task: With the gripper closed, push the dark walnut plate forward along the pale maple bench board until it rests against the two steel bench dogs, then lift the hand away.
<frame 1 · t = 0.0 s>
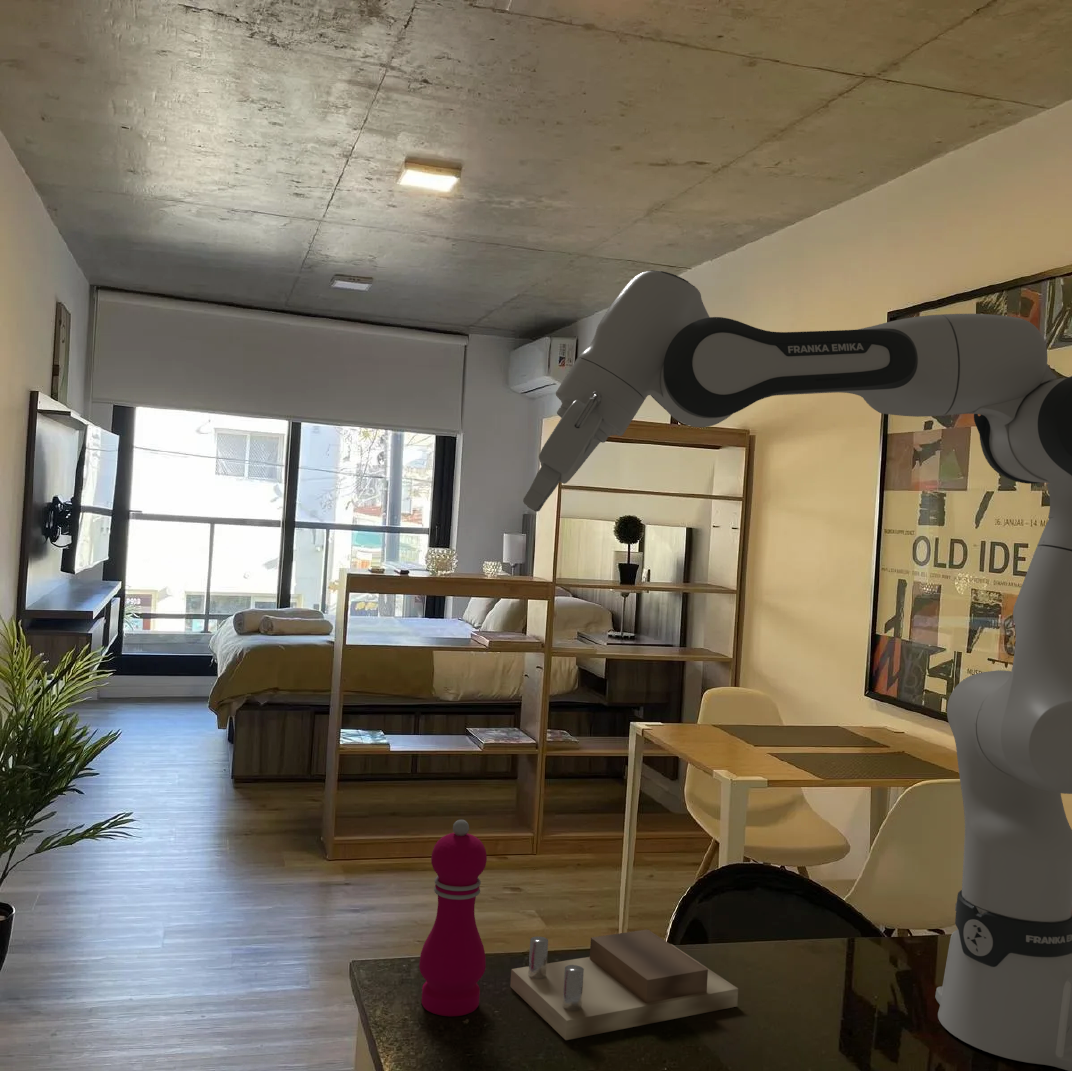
hand: (530, 508, 114), 54 cm above the kitchen counter, tool tilted 30°, fingers open, 8 cm apart
walnut plate: (646, 974, 117), point 2 cm above the kitchen counter, touching bench board
pepper mill: (450, 1005, 111), on the kitchen counter
bench board: (623, 996, 115), on the kitchen counter
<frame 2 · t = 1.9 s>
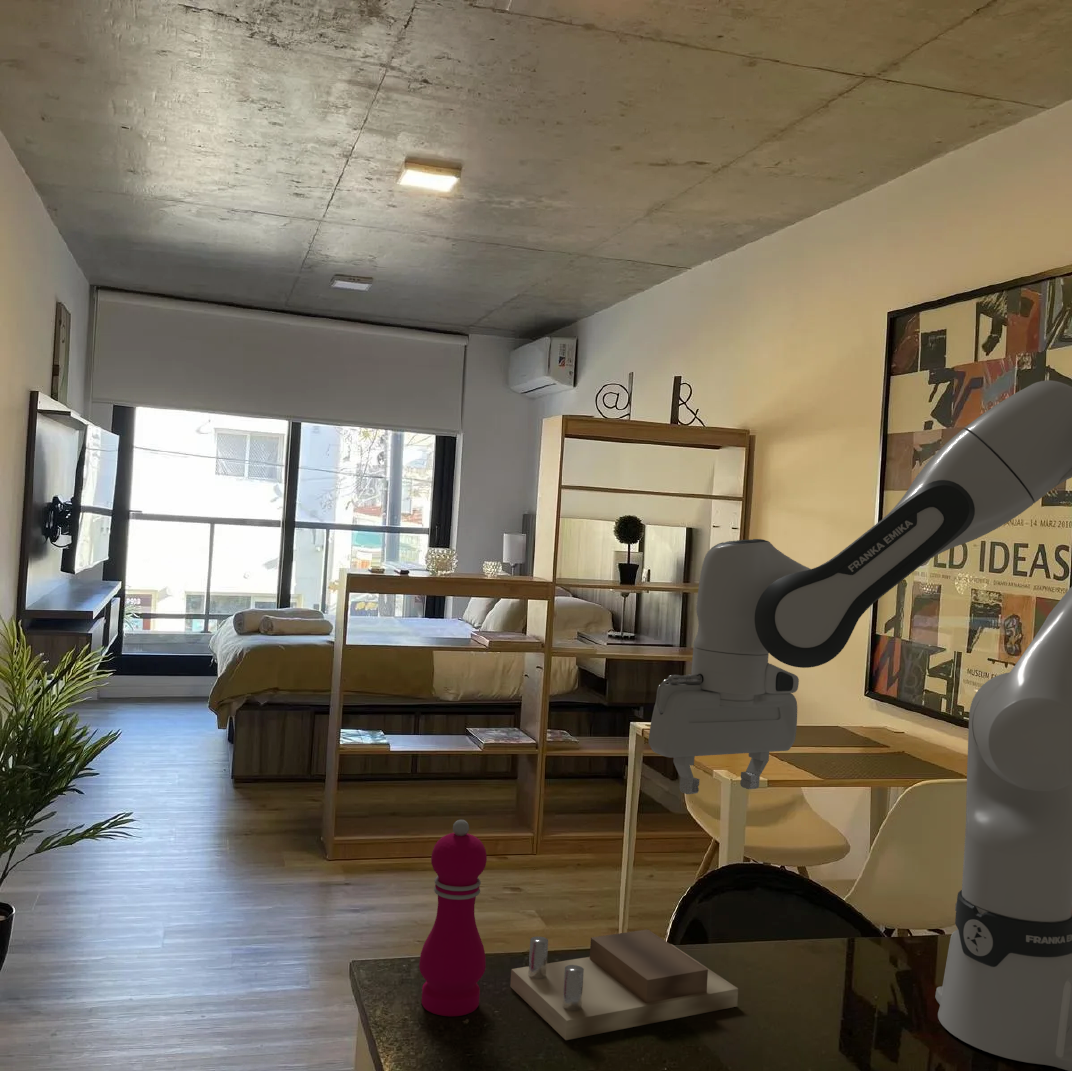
hand: (719, 790, 121), 22 cm above the kitchen counter, tool pointing down, fingers open, 8 cm apart
nothing on the kitchen counter moved.
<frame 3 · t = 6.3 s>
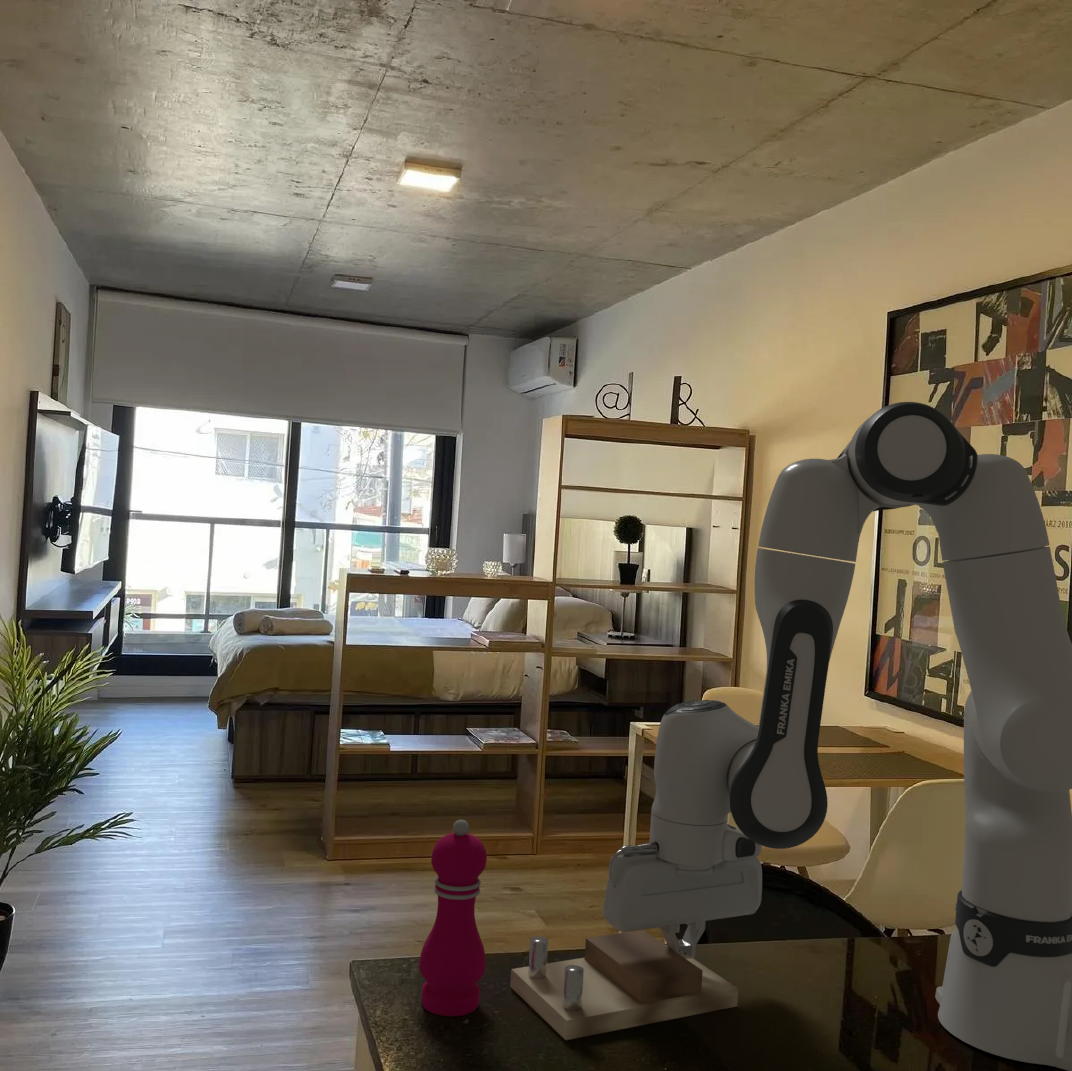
hand: (680, 958, 119), 3 cm above the kitchen counter, tool pointing down, fingers closed
walnut plate: (641, 975, 116), point 2 cm above the kitchen counter, touching gripper
everything else where it was.
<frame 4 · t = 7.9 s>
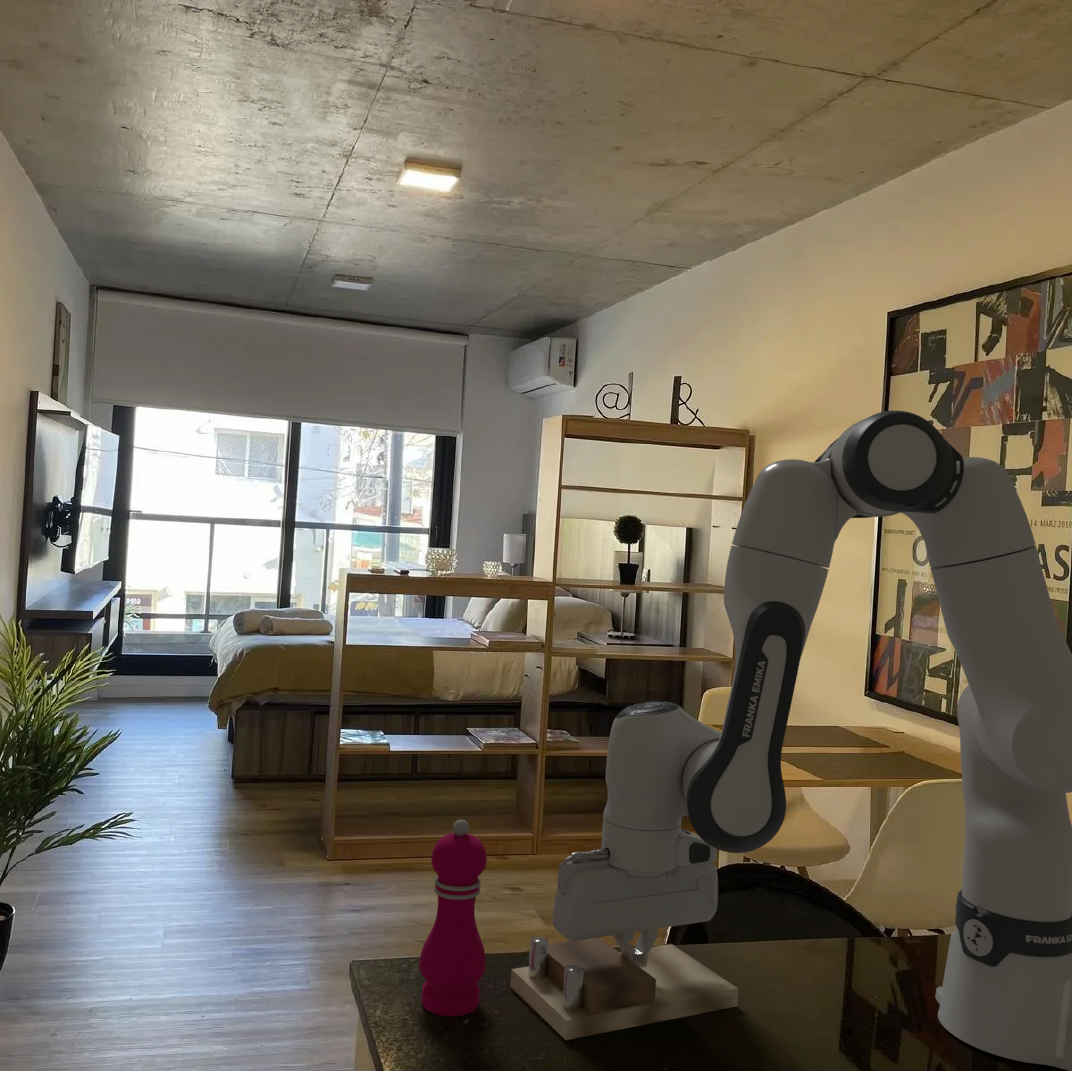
hand: (633, 967, 116), 3 cm above the kitchen counter, tool pointing down, fingers closed
walnut plate: (594, 984, 113), point 2 cm above the kitchen counter, touching bench board, gripper
everything else where it was.
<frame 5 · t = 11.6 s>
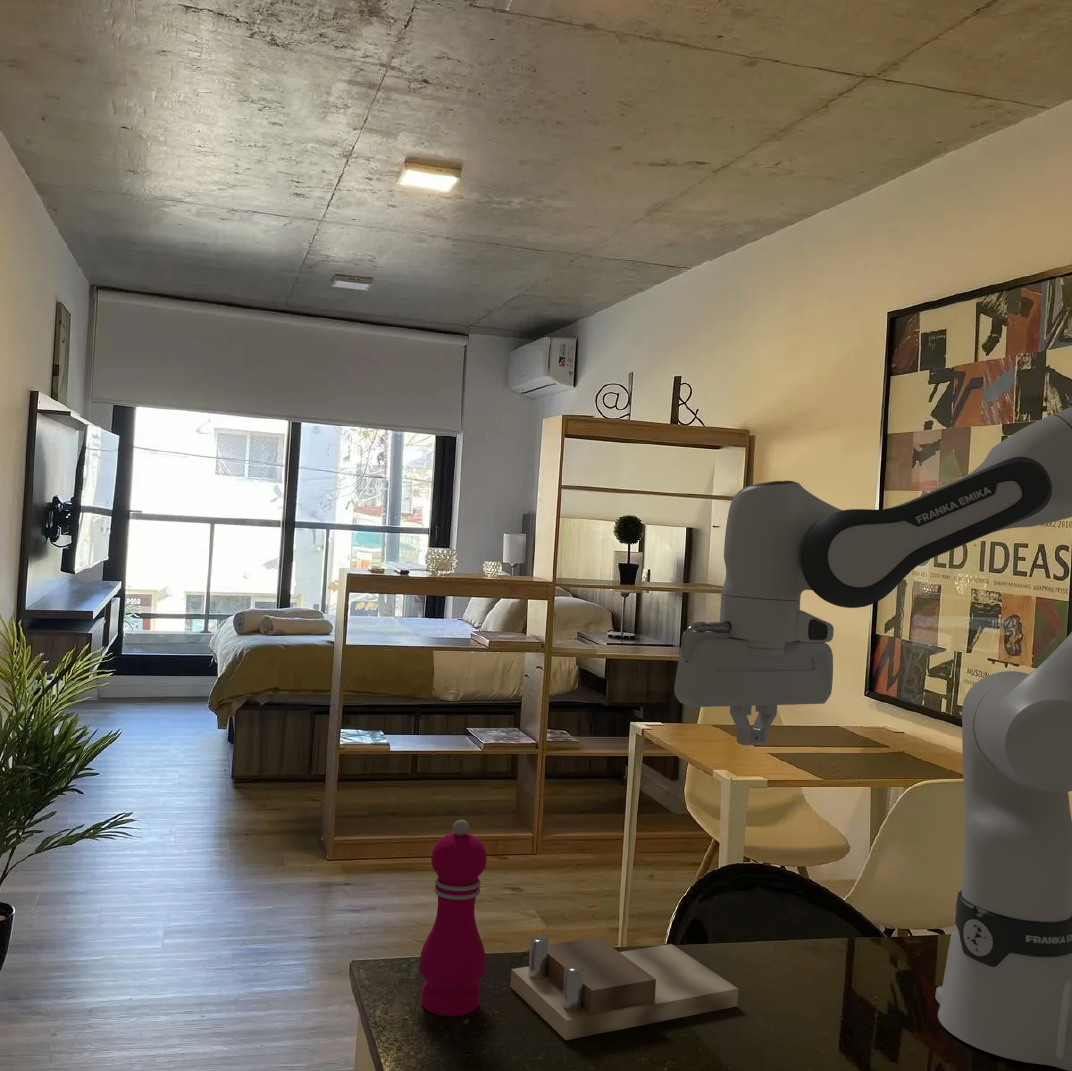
hand: (751, 744, 116), 29 cm above the kitchen counter, tool pointing down, fingers closed
walnut plate: (594, 984, 113), point 2 cm above the kitchen counter, touching bench board
everything else where it was.
at the end: walnut plate 0.2 cm from the target spot, point 2.0 cm above the kitchen counter; walnut plate tilted 0° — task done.
